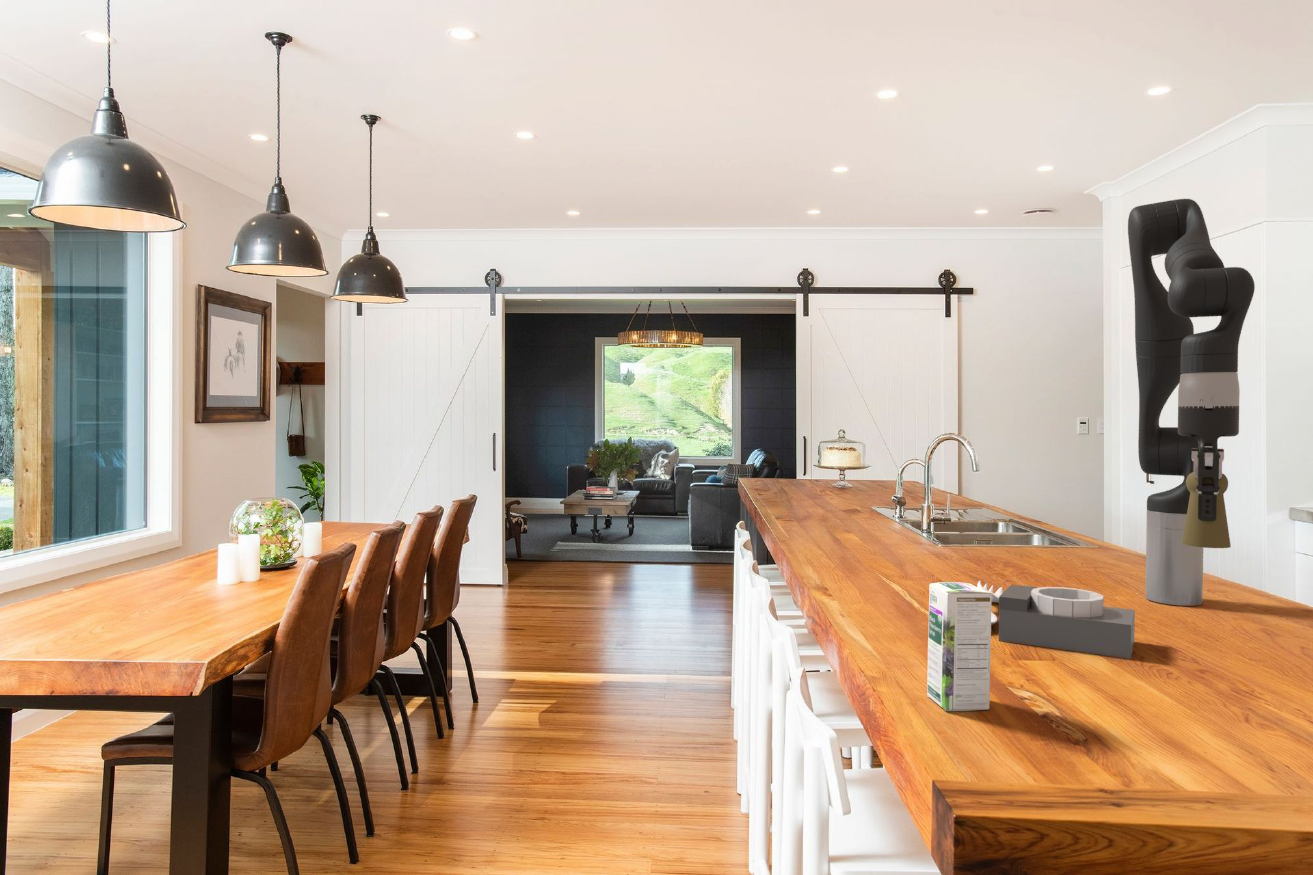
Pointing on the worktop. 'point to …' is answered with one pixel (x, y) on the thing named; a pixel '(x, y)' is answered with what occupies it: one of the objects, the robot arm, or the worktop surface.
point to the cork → (1206, 531)
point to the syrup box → (959, 646)
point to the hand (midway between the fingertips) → (1206, 518)
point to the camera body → (1065, 621)
